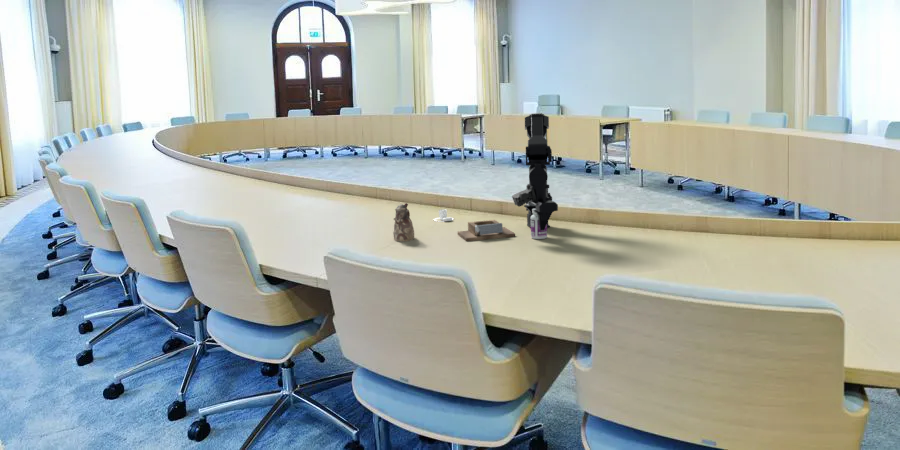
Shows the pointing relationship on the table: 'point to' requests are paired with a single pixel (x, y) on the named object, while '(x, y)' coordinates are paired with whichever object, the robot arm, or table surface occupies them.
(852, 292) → the table surface
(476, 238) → the cradle board
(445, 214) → the teacup and saucer
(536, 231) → the pill bottle
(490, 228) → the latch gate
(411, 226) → the figurine
